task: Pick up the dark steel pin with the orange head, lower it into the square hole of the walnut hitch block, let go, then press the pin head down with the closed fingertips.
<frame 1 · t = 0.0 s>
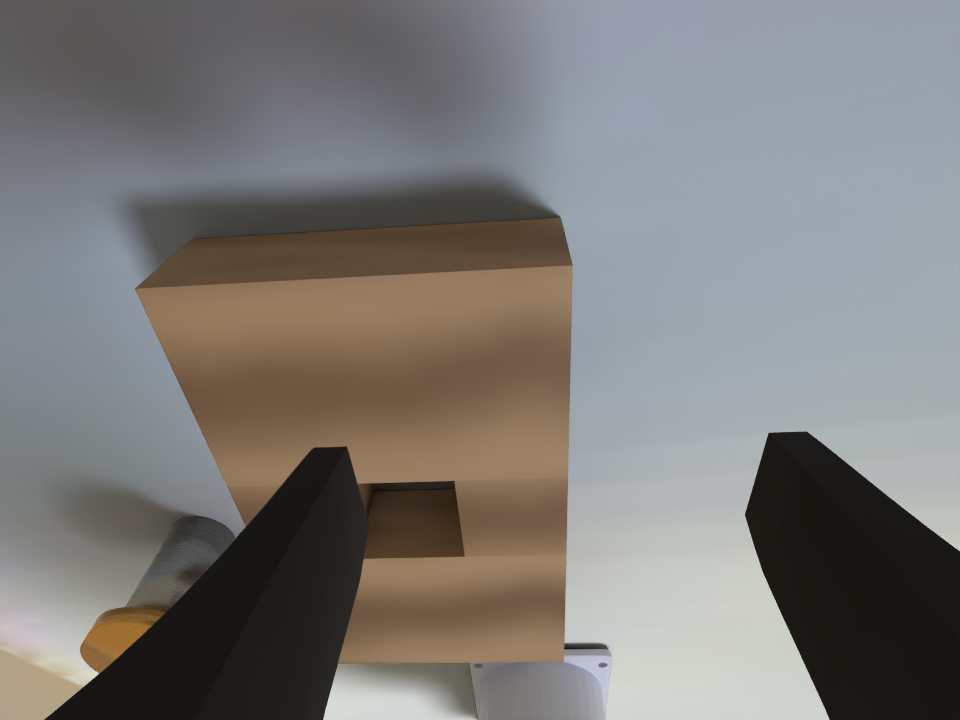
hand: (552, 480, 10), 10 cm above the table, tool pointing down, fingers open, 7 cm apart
hitch block: (415, 455, 24), on the table
pin: (204, 537, 27), on the table
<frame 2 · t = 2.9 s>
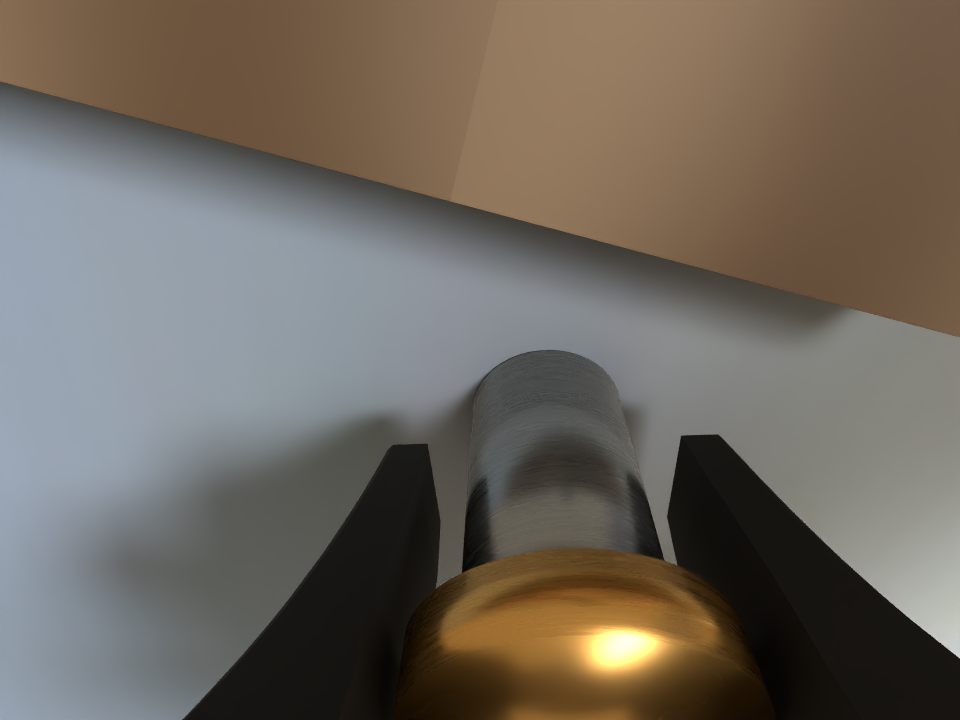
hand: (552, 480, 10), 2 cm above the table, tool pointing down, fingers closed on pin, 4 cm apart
pin: (545, 411, 12), on the table, touching gripper
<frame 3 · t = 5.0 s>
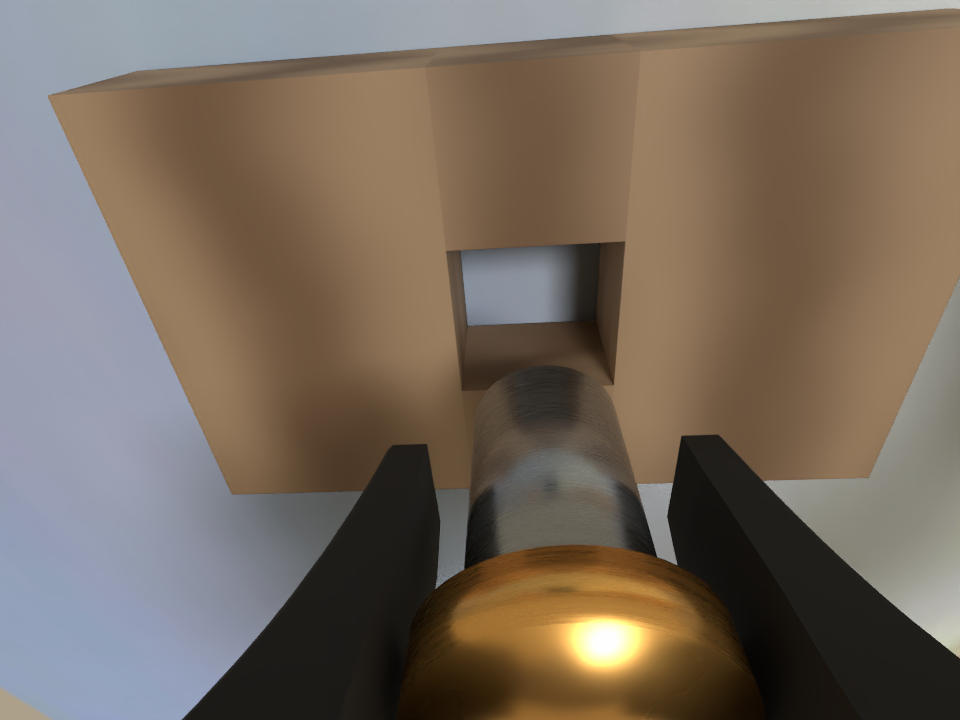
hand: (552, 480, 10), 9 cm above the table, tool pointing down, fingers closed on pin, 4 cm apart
hitch block: (530, 264, 17), on the table
pin: (544, 424, 12), point 7 cm above the table, touching gripper
when the fingers open (4 cm above the table, at t = 7.2 s): pin drops 2 cm, resting in hitch block.
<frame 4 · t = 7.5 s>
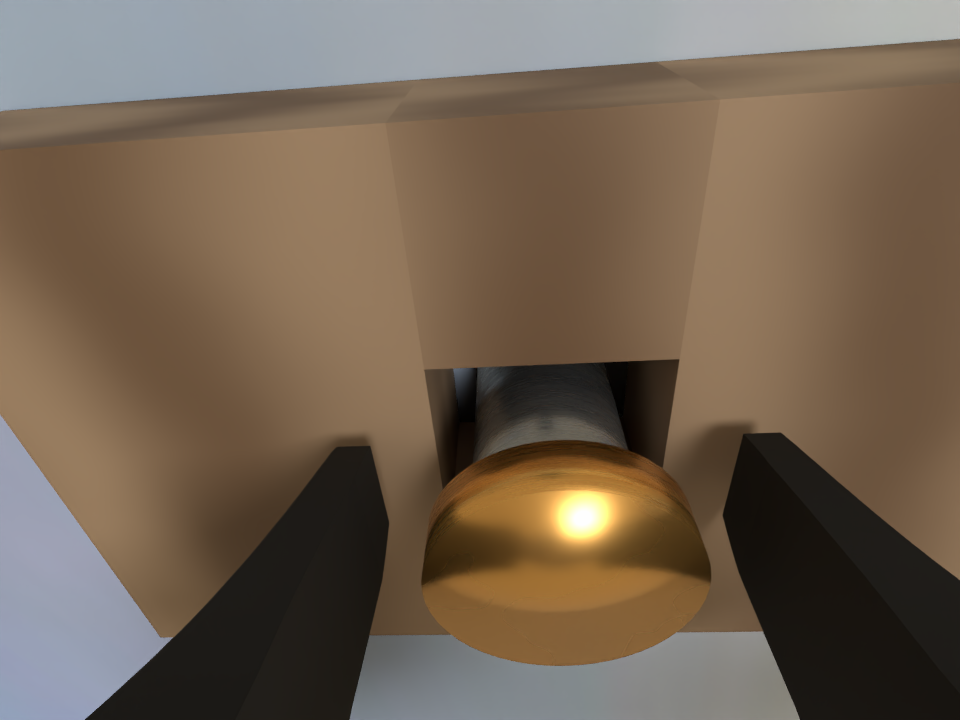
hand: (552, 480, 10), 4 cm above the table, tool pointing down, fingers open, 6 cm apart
hitch block: (539, 352, 13), on the table
pin: (539, 368, 14), resting in hitch block
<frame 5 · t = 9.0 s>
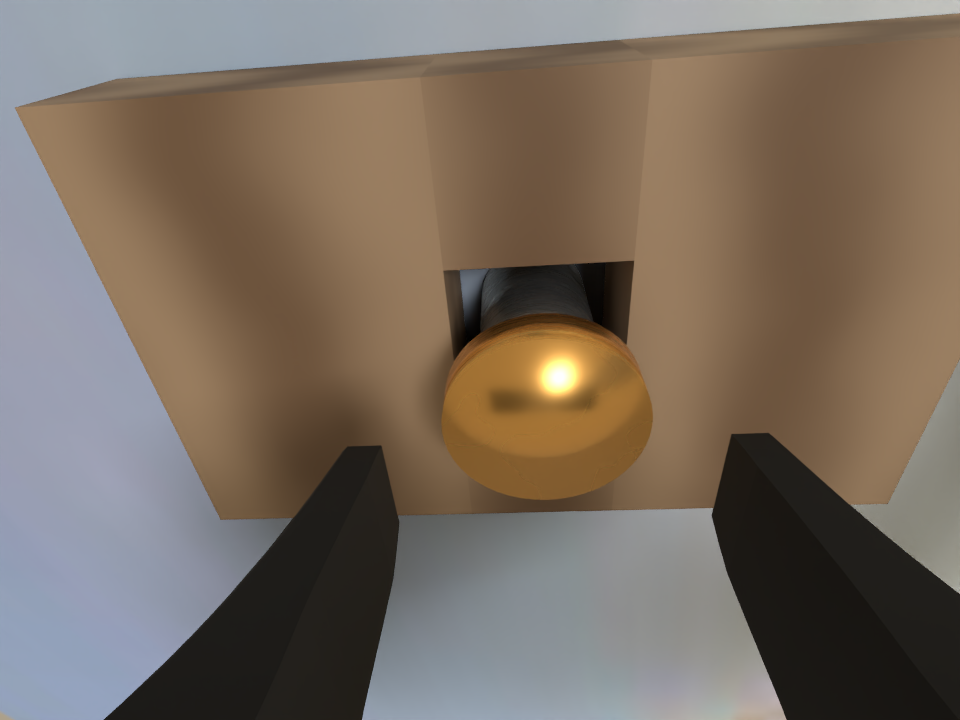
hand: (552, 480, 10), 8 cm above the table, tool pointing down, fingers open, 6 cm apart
hitch block: (532, 280, 16), on the table
pin: (532, 294, 17), resting in hitch block
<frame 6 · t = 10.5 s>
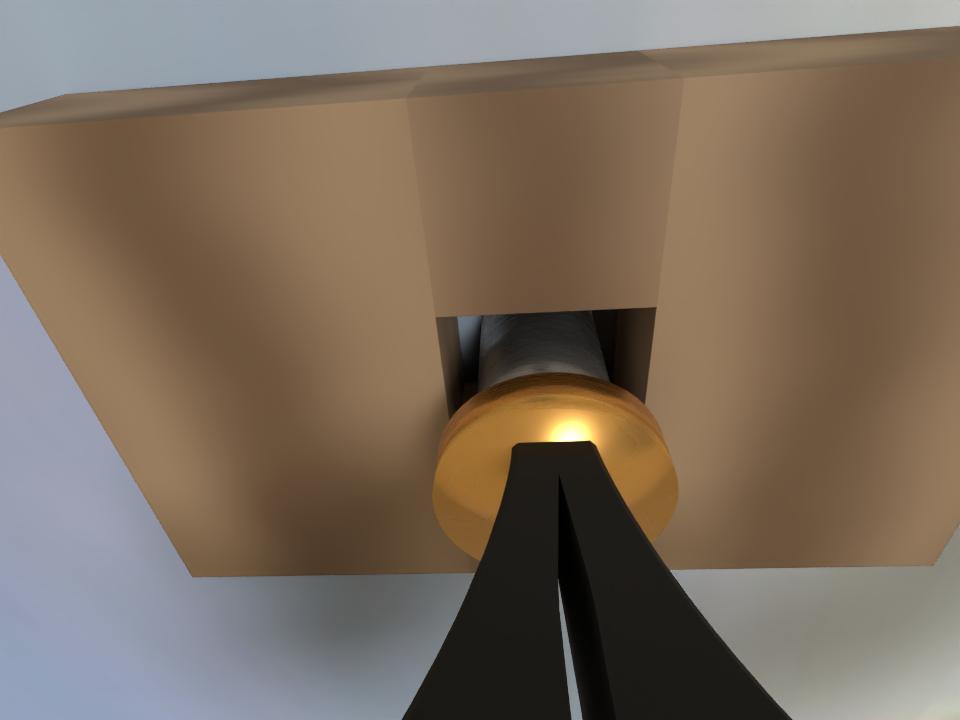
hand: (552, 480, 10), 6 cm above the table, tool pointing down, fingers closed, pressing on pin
hitch block: (536, 315, 15), on the table
pin: (537, 329, 15), resting in hitch block, touching gripper
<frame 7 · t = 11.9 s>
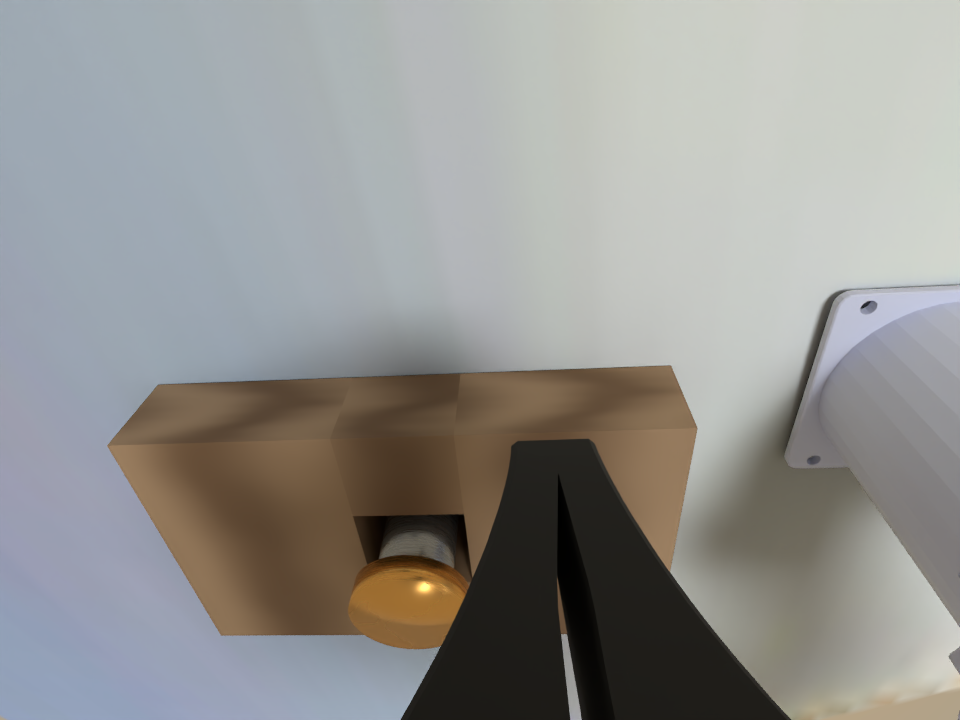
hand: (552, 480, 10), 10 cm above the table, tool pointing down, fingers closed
hitch block: (425, 484, 25), on the table
pin: (427, 491, 25), resting in hitch block
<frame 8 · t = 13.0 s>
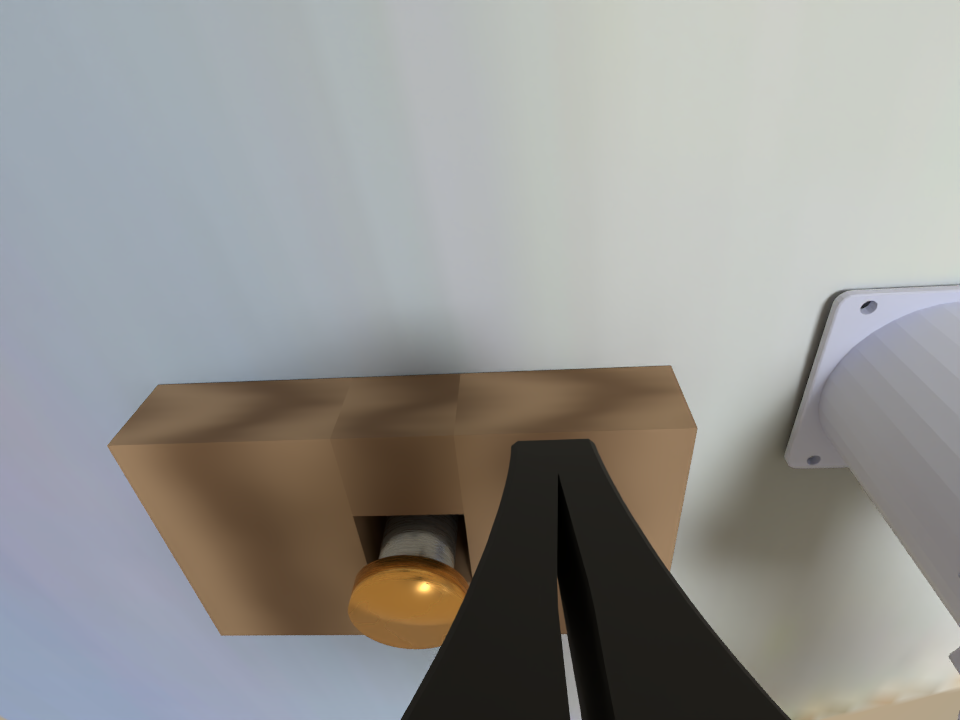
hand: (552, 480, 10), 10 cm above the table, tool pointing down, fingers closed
hitch block: (425, 484, 25), on the table
pin: (427, 491, 25), resting in hitch block
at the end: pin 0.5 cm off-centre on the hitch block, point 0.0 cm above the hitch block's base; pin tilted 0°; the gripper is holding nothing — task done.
